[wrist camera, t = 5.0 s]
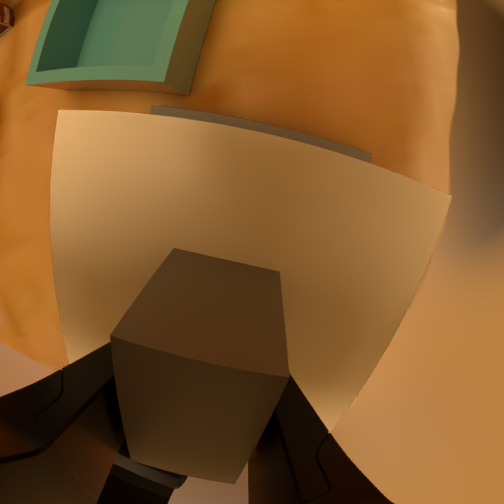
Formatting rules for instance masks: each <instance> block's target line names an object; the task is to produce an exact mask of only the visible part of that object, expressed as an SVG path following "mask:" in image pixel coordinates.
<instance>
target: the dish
mask: <svg viewBox="0 0 504 504" xmlns="http://www.w3.org/2000/svg"><path fill="white" fill-rule="evenodd" d="M215 3H216V0H52V2H51V4H50V6H49V9H48V11H47V14H46V17H45V19H44V22H43V25H42V28H41V31H40V33H39V37H38V40H37V43H36V46H35V49H34V53H33V56H32V60H31V64H30V68H29V72H28V76H27V80H26V86H37V87H45V88H53V89H61V90H68V91H70V90H125V91H144V92H157V93H169V94H178V95H187V96H189V94H190V90H191V86H192V82H193V78H194V74H195V70H196V66H197V63H198V59H199V55H200V52H201V48H202V44H203V41H204V38H205V34H206V31H207V28H208V24H209V21H210V18H211V15H212V12H213V9H214V6H215Z"/></svg>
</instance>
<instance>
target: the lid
mask: <svg viewBox="0 0 504 504" xmlns="http://www.w3.org/2000/svg"><path fill="white" fill-rule="evenodd" d="M451 198H452V196H451V195H449V194H446V193H444V192H442V191H440V190H437V189H435V188H433V187H430V186H428V185H426V184H423V183H421V182H418V181H416V180H414V179H411V178H409V177H406V176H403V175H401V174H398V173H396V172H393V171H390V170H388V169H385V168H382V167H379V166H377V165H374V164H371V163H368V162H365V161H362V160H359V159H356V158H353V157H350V156H347V155H344V154H340V153H337V152H334V151H331V150H327V149H324V148H320V147H317V146H313V145H310V144H306V143H302V142H298V141H295V140H291V139H287V138H283V137H279V136H274V135H270V134H266V133H261V132H257V131H252V130H247V129H242V128H237V127H232V126H227V125H222V124H216V123H210V122H204V121H198V120H191V119H184V118H177V117H169V116H160V115H151V114H141V113H129V112H115V111H94V110H59V111H58V117H57V124H56V131H55V139H54V148H53V158H52V172H51V194H50V227H51V249H52V263H53V274H54V283H55V291H56V298H57V305H58V312H59V317H60V323H61V328H62V334H63V338H64V343H65V348H66V352H67V356H68V360H69V364H71V363H73V362H74V361H76V360H78V359H80V358H82V357H83V356H85V355H87V354H89V353H91V352H92V351H94V350H96V349H98V348H99V347H101V346H103V345H105V344H107V343H108V342H111V352H112V361H113V369H114V376H115V383H116V390H117V396H118V402H119V407H120V413H121V418H122V423H123V428H124V432H125V437H126V441H127V445H128V450H129V454H130V457H131V460H132V461H135V462H138V463H142V464H145V465H148V466H151V467H155V468H158V469H162V470H166V471H170V472H174V473H178V474H182V475H186V476H191V477H196V478H201V479H206V480H211V481H217V482H224V483H230V484H235V483H236V481H237V479H238V478H239V476H240V474H241V472H242V470H243V469H244V467H245V465H246V463H247V462H248V460H249V458H250V456H251V454H252V452H253V450H254V449H255V447H256V445H257V443H258V441H259V439H260V437H261V435H262V433H263V431H264V429H265V427H266V425H267V423H268V421H269V419H270V417H271V415H272V413H273V411H274V409H275V407H276V405H277V403H278V401H279V399H280V397H281V395H282V393H283V390H284V388H285V386H286V384H287V382H288V380H289V372H290V374H291V375H292V377H293V378H294V380H295V381H296V383H297V384H298V386H299V387H300V389H301V390H302V392H303V393H304V395H305V396H306V398H307V399H308V401H309V402H310V404H311V405H312V407H313V408H314V410H315V411H316V413H317V414H318V416H319V417H320V419H321V420H322V421H323V423H324V424H325V426H326V427H327V429H328V430H329V432H328V433H330V432H331V431H332V430H333V428H334V427H335V426H336V424H337V423H338V422H339V420H340V419H341V418H342V416H343V415H344V413H345V412H346V411H347V409H348V408H349V407H350V405H351V404H352V402H353V401H354V399H355V398H356V396H357V395H358V394H359V392H360V390H361V389H362V388H363V386H364V384H365V383H366V381H367V380H368V378H369V377H370V375H371V373H372V372H373V370H374V368H375V367H376V365H377V364H378V362H379V360H380V359H381V357H382V355H383V354H384V352H385V350H386V348H387V347H388V345H389V343H390V341H391V340H392V338H393V336H394V334H395V332H396V330H397V328H398V327H399V325H400V323H401V321H402V319H403V317H404V315H405V313H406V311H407V309H408V307H409V305H410V303H411V301H412V299H413V297H414V294H415V292H416V290H417V288H418V286H419V284H420V281H421V279H422V277H423V274H424V272H425V270H426V267H427V265H428V263H429V260H430V258H431V255H432V253H433V250H434V248H435V245H436V242H437V240H438V237H439V234H440V231H441V229H442V226H443V223H444V220H445V217H446V214H447V211H448V208H449V204H450V201H451Z"/></svg>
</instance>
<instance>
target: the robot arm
mask: <svg viewBox="0 0 504 504" xmlns="http://www.w3.org/2000/svg"><path fill="white" fill-rule="evenodd" d="M328 432H329V430H328V429H327V427H326V426H325V424H324V423H323V421H322V420H321V419H320V417H319V416H318V414H317V413H316V411H315V410H314V408H313V407H312V405H311V404H310V402H309V401H308V399H307V398H306V396H305V395H304V393H303V392H302V390H301V389H300V387H299V386H298V384H297V383H296V381H295V380H294V378H293V377H292V375H291V374H290V372H289V380H288V382H287V384H286V386H285V388H284V390H283V393H282V395H281V397H280V399H279V401H278V403H277V405H276V407H275V409H274V411H273V413H272V415H271V417H270V419H269V421H268V423H267V425H266V427H265V429H264V431H263V433H262V435H261V437H260V439H259V441H258V443H257V445H256V447H255V449H254V450H253V452H252V454H251V456H250V458H249V460H248V489H249V490H248V493H249V504H394V503H393V502H391V501H390V500H388V499H387V498H386V497H385V496H384V495H383V494H382V493H381V492H380V491H379V490H378V489H377V488H376V487H375V486H374V485H373V484H372V482H370V480H369V479H368V478H367V477H366V476H365V475H364V474H363V473H362V472H361V471H360V470H359V469H358V468H357V466H356V465H355V464H354V463H353V462H352V461H351V459H350V458H349V457H348V456H347V455H346V453H345V452H344V451H343V450H342V448H341V447H340V446H339V444H338V443H337V442H336V440H335V439H334V437H333V436H332V434H331V433H328ZM187 477H188V476H186V475H182V474H178V473H174V472H170V471H166V470H162V469H158V468H155V467H151V466H148V465H145V464H142V463H138V462H135V461H132V460H131V457H130V454H129V450H128V445H127V441H126V437H125V432H124V428H123V423H122V418H121V413H120V407H119V402H118V396H117V390H116V383H115V376H114V369H113V361H112V352H111V342H108V343H107V344H105V345H103V346H101V347H99V348H98V349H96V350H94V351H92V352H91V353H89V354H87V355H85V356H83V357H82V358H80V359H78V360H76V361H74V362H73V363H71V364H69V365H67V366H65V367H64V368H62V370H58V371H56V372H54V373H53V374H51V375H49V376H47V377H45V378H43V379H41V380H39V381H37V382H35V383H33V384H31V385H28V386H26V387H24V388H22V389H19V390H16V391H14V392H12V393H9V394H6V395H4V396H1V397H0V504H168V501H169V499H170V496H171V495H172V493H173V491H174V489H178V488H179V487H181V485H182V484H183V483H184V482H185V480H186V479H187Z"/></svg>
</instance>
